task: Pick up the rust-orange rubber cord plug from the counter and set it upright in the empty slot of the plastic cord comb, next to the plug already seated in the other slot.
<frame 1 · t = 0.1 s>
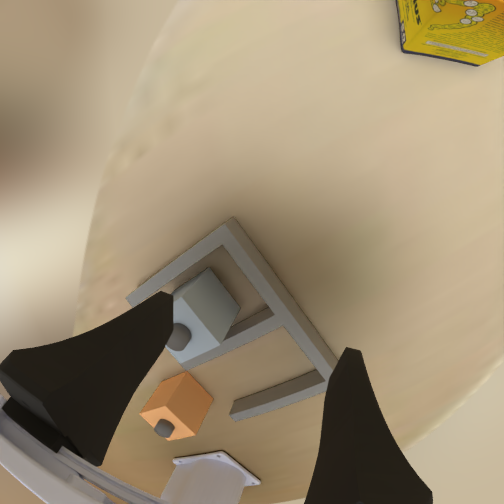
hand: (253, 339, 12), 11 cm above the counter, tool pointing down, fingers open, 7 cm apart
seated plug: (206, 299, 25), resting in cord comb
orange plug: (186, 390, 29), on the counter
supplement box: (434, 23, 14), on the counter
cord comb: (232, 332, 25), on the counter
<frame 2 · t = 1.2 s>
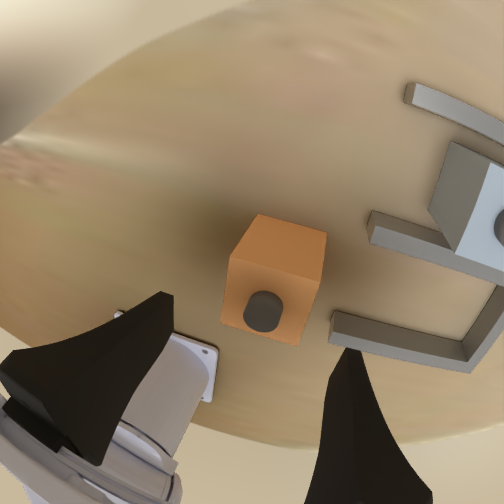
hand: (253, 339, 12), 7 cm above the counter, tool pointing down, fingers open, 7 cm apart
seated plug: (469, 187, 14), resting in cord comb
orange plug: (285, 253, 19), on the counter
cord comb: (447, 244, 16), on the counter
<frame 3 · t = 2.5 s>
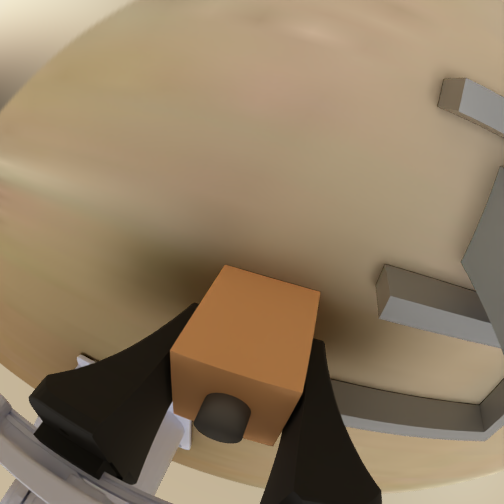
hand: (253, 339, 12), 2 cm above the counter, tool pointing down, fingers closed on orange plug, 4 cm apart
orange plug: (263, 314, 14), on the counter, touching gripper
cord comb: (480, 304, 11), on the counter
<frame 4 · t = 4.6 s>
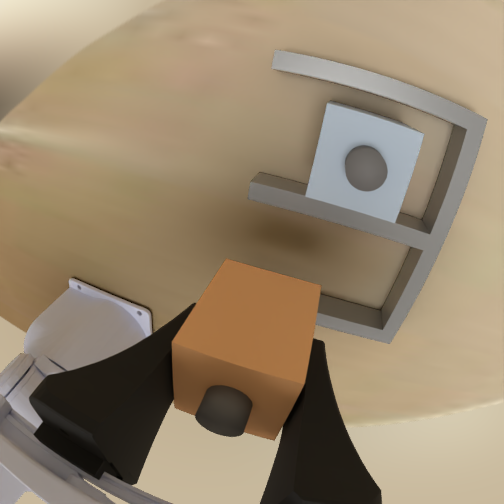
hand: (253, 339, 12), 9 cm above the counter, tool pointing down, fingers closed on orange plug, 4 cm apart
seated plug: (357, 144, 16), resting in cord comb
orange plug: (264, 308, 14), point 7 cm above the counter, touching gripper
cord comb: (341, 202, 18), on the counter
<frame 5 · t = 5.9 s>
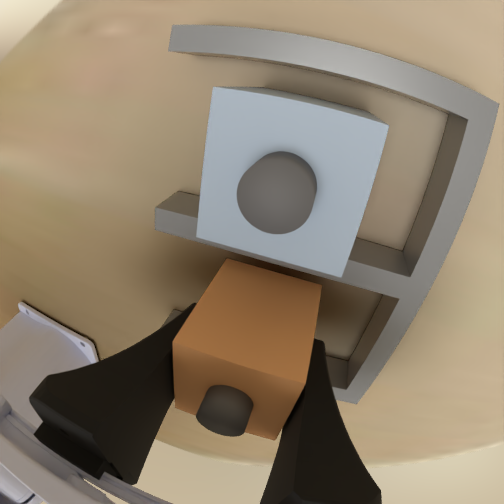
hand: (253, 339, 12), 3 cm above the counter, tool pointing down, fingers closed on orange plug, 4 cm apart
seated plug: (305, 148, 12), resting in cord comb
orange plug: (265, 308, 14), point 1 cm above the counter, touching gripper
cord comb: (286, 229, 13), on the counter
when the fingers open (3 cm above the counter, at t = 6.7 s): orange plug drops 1 cm, resting in cord comb.
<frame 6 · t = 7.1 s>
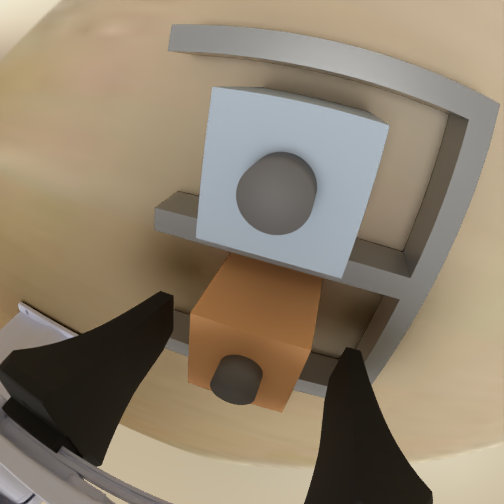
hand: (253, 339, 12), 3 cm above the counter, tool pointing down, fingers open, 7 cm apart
seated plug: (305, 148, 11), resting in cord comb
orange plug: (271, 290, 15), resting in cord comb
cord comb: (286, 229, 13), on the counter
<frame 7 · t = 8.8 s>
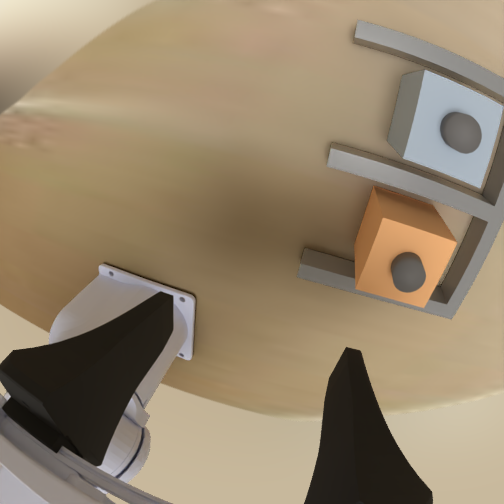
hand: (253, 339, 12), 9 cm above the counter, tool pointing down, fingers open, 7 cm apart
seated plug: (427, 119, 15), resting in cord comb
orange plug: (393, 224, 18), resting in cord comb
cord comb: (411, 175, 16), on the counter
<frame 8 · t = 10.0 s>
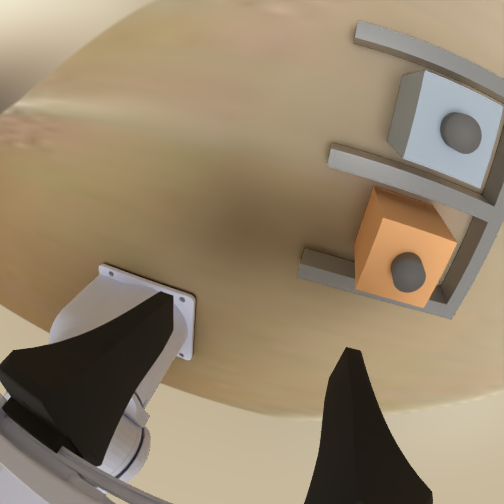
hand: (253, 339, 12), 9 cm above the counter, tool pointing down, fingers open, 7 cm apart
seated plug: (427, 119, 15), resting in cord comb
orange plug: (393, 224, 18), resting in cord comb
cord comb: (411, 175, 16), on the counter
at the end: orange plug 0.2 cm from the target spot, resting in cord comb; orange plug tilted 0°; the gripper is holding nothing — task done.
